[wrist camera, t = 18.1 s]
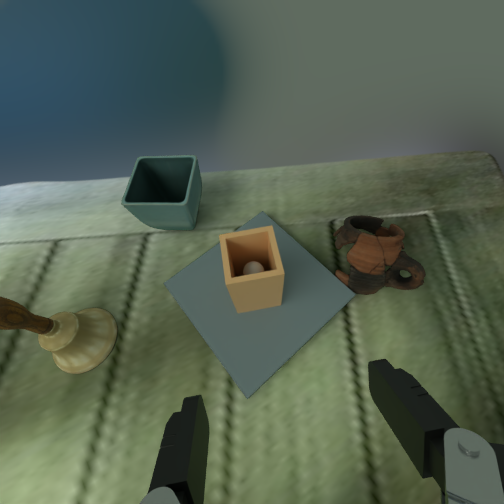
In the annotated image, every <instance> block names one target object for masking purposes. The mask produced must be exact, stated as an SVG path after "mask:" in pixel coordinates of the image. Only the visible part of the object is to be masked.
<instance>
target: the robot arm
mask: <svg viewBox="0 0 504 504" xmlns="http://www.w3.org/2000/svg"><path fill="white" fill-rule="evenodd" d="M368 372H369V389H370V393H371V396H372V399H373V401H374V402H375V404H376V406H377V407H378V409H379V410H380V412H381V413H382V415H383V417H384V418H385V420H386V421H387V423H388V424H389V426H390V428H391V429H392V431H393V432H394V434H395V435H396V437H397V439H398V440H399V442H400V443H401V445H402V447H403V448H404V450H405V451H406V453H407V454H408V456H409V458H410V459H411V461H412V462H413V464H414V465H415V467H416V469H417V470H418V472H419V473H420V475H421V476H422V478H428V477H434V479H435V480H436V482H437V483H438V485H439V486H440V488H441V504H504V445H502V444H494V443H488V442H487V441H486V440H484V439H483V438H482V437H480V436H479V435H477V434H476V433H474V432H472V431H469V430H466V429H462V428H460V427H459V426H458V425H457V424H456V423H455V422H454V421H453V420H452V418H451V417H450V416H449V415H448V414H447V413H446V412H445V411H444V410H443V409H442V408H441V406H440V405H439V404H438V403H437V402H436V401H435V400H434V399H433V398H432V397H431V395H429V394H428V392H427V391H426V390H425V389H424V388H423V387H422V386H421V384H420V383H419V382H418V381H417V380H416V379H415V378H414V377H413V376H412V375H411V374H409V373H407V372H406V371H404V370H403V369H401V368H399V369H394V367H393V366H392V365H391V364H390V363H389V362H388V361H387V360H386V359H381V360H375V361H370V362H369V363H368ZM208 443H209V422H208V417H207V414H206V410H205V406H204V403H203V399H202V396H201V395H196V396H191V397H186V398H184V400H183V405H182V409H181V412H175V413H173V414H172V416H171V417H170V419H169V421H168V422H167V424H166V427H165V431H164V434H163V439H162V442H161V446H160V450H159V453H158V457H157V461H156V465H155V469H154V472H153V476H152V480H151V484H150V488H149V491H148V493H147V495H146V496H145V497H144V498H143V500H142V501H141V502H140V504H203V502H204V490H205V479H206V467H207V455H208Z"/></svg>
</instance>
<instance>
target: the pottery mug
mask: <svg viewBox="0 0 504 504" xmlns="http://www.w3.org/2000/svg"><path fill="white" fill-rule="evenodd" d="M383 221H384V220H383V219H380V218H377V217H371V216H351V217H348V218H346V219H345V220H344V225H343V226H342V227H340V228H339V229H338V230H337V231H336V232H335V233H334V236H337V235H338V236H337V240H336V242H335V245H336V248H337V249H341V247H342V246H343V245H346V244H349V243H355V244H354V245H353V247H352V248H351V249H350V251H349V252H348V253H347V261H348V262H349V263H350V264H351V266H350V275H347V274H345V273H343V272H342V271H340V270H336V272H335V277H337V278H338V279H339V280H340V281H341V282H342V283H343V284H344V285H345V286H347V287H348V288H349V289H350V290H351V291H352V292H354V293H357V294H364V295H368V294H374V293H376V292H377V291H378V290H379V289H381V288H382V287H383V286H386V287H393V288H396V289H401V290H411V289H416V288H418V287H419V286H421V285H423V283H424V280H423V279H424V277H425V275H426V274H425V270H424V268H423V266H422V265H421V264H420V263H419V262H417V261H416V260H414V259H412V258H411V257H409V256H408V255H407V254H406V252H405V251H401V249H404V244H403V242H402V240H403V239H404V237H405V233H404V231H403V230H402V229H401V228H400V227H398V226H397V225H395V224H391V225H390V228H389V229H388V228H385V227H382V226H381V224H382V222H383ZM357 229H364V230H366V231H368V232H371V233H373V234H375V236H374V235H370V234H366V233H364V232H361V231H359V230H357ZM390 236H392V237H390ZM385 266H391V268H389V269H388V270H387V271H386V272H385ZM400 270H406V271H408V272H409V273H411V275H412V276H411V277H407V278H404V277H402V276H401V275H400Z"/></svg>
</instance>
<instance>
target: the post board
mask: <svg viewBox="0 0 504 504" xmlns="http://www.w3.org/2000/svg"><path fill="white" fill-rule="evenodd" d="M271 225H272V226H273V230H274V234H275V238H276V242H277V246H278V250H279V254H280V258H281V261H282V265H283V269H284V273H285V276H284V284H283V293H282V302H281V305H280V306H275V307H270V308H264V309H259V310H254V311H249V312H243V313H237V311H236V308H235V306H234V303H233V301H232V299H231V296H230V294H229V292H228V289H227V287H226V283H225V276H224V268H223V261H222V253H221V246H220V242H219V243H218V244H217V245H215V246H214V247H213V248H211V249H210V250H208V251H207V252H206V253H204V254H203V255H202V256H200V257H199V258H197V259H196V260H195V261H193V262H192V263H191V264H189V265H188V266H187V267H185V268H184V269H182V270H181V271H180V272H178V273H177V274H176V275H174V276H173V277H171V278H170V279H169V280H167V281H166V282H165V283H164V285H165V286H166V287H167V289H168V290H169V292H170V293H171V294H172V296H173V297H174V299H175V300H176V301H177V303H178V304H179V305H180V307H181V308H182V310H183V311H184V312H185V314H186V315H187V316H188V318H189V319H190V321H191V322H192V323H193V325H194V326H195V328H196V329H197V330H198V332H199V333H200V334H201V336H202V337H203V339H204V340H205V341H206V343H207V344H208V346H209V347H210V348H211V350H212V351H213V352H214V354H215V355H216V357H217V358H218V359H219V361H220V362H221V363H222V365H223V366H224V368H225V369H226V370H227V372H228V373H229V375H230V376H231V377H232V379H233V380H234V381H235V383H236V384H237V386H238V387H239V388H240V390H241V391H242V392H243V394H244V395H245V397H246V398H247V399H248V398H249V397H250V396H251V395H252V394H253V393H254V392H255V391H257V390H258V389H259V388H260V387H261V386H262V385H263V384H264V383H265V382H266V381H267V380H268V379H269V378H270V377H271V376H272V375H273V374H274V373H275V372H276V371H277V370H278V369H279V368H280V367H281V366H283V365H284V364H285V363H286V362H287V361H288V360H289V359H290V358H291V357H292V356H293V355H294V354H295V353H296V352H297V351H298V350H299V349H300V348H301V347H302V346H303V345H304V344H305V343H306V342H307V341H309V340H310V339H311V338H312V337H313V336H314V335H315V334H316V333H317V332H318V331H319V330H320V329H321V328H322V327H323V326H324V325H325V324H326V323H327V322H328V321H329V320H330V319H331V318H332V317H333V316H335V315H336V314H337V313H338V312H339V311H340V310H341V309H342V308H343V307H344V306H345V305H346V304H347V303H348V302H349V301H350V300H351V299H352V298H353V297H354V296H355V295H356V294H354V293H353V292H352V291H351V290H350V289H349V288H348V287H347V286H345V285H344V284H343V283H342V282H341V281H340V280H339V279H338V278H337V277H335V276H334V275H333V274H332V273H331V272H330V271H329V270H328V269H327V268H325V267H324V266H323V265H322V264H321V263H320V262H319V261H318V260H317V259H315V258H314V257H313V256H312V255H311V254H310V253H309V252H308V251H306V250H305V249H304V248H303V247H302V246H301V245H300V244H299V243H298V242H296V241H295V240H294V239H293V238H292V237H291V236H290V235H289V234H288V233H286V232H285V231H284V230H283V229H282V228H281V227H280V226H279V225H277V224H276V223H275V222H274V221H273V220H272V219H271V218H270V217H269V216H267V215H266V214H265V213H264V212H263V211H262V212H261V213H259V214H258V215H256V216H255V217H254V218H252V219H251V220H250V221H248V222H247V223H245V224H244V225H243V226H241V227H240V228H239V229H237V230H236V231H234V232H238V231H243V230H249V229H254V228H260V227H265V226H271ZM260 272H264V268H263V266H262V265H261V264H260V263H259V262H256V261H251V262H249V263H247V264H246V265H245V267H244V269H243V275H249V274H255V273H260Z"/></svg>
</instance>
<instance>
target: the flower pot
mask: <svg viewBox="0 0 504 504" xmlns="http://www.w3.org/2000/svg"><path fill="white" fill-rule="evenodd" d="M201 192H202V182H201V176H200V170H199V166H198V160H197V157H196V156H195V155H182V156H142V157H138V158H137V161H136V163H135V166H134V169H133V172H132V175H131V177H130V180H129V183H128V186H127V188H126V191H125V193H124V196H123V198H122V202H121V204H122V205H123V206H124V207H125V208H126V209H128V210H129V211H130V212H131V213H132V214H133V215H134V216H135V217H136V218H138V219H139V220H140V221H141V222H143V223H144V224H146V225H148V226H150V227H153V228H157V229H163V230H193V229H194V227H195V224H196V219H197V213H198V208H199V203H200V198H201Z"/></svg>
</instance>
